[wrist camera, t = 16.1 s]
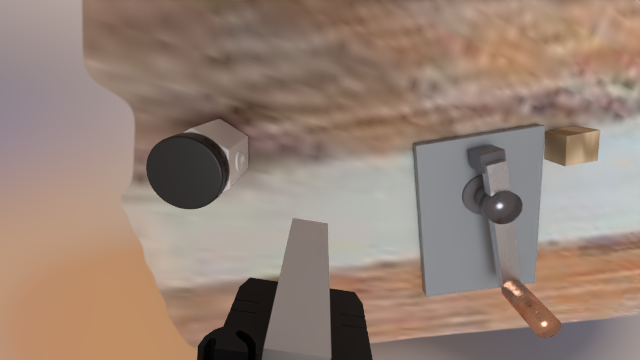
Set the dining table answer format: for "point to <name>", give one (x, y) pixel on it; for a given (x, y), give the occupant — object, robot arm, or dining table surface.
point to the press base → (473, 208)
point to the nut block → (571, 145)
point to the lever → (508, 238)
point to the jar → (198, 164)
